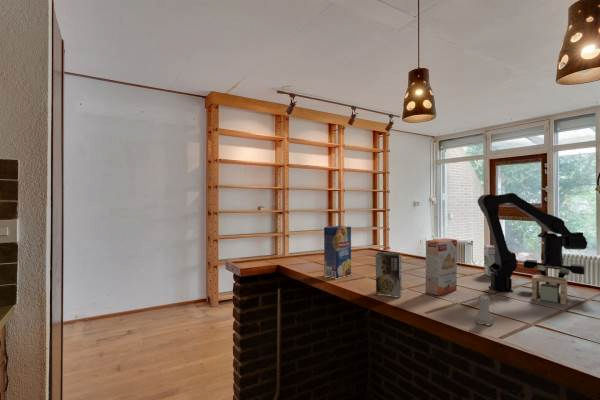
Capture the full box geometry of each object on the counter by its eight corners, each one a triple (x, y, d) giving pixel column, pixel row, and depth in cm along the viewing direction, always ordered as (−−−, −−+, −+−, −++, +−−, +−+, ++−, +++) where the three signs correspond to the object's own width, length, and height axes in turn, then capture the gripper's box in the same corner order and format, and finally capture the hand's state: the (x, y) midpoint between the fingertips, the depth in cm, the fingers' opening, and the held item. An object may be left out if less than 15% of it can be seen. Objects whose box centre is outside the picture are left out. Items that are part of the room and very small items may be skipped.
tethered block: (557, 302, 114) (557, 285, 114) (540, 299, 118) (540, 283, 118) (561, 292, 126) (561, 277, 126) (545, 290, 129) (545, 275, 129)
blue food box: (336, 279, 149) (336, 228, 149) (324, 277, 154) (323, 227, 154) (351, 275, 157) (351, 226, 158) (338, 273, 163) (338, 225, 163)
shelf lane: (565, 304, 112) (564, 281, 112) (532, 299, 118) (532, 277, 118) (567, 298, 118) (566, 277, 118) (535, 293, 125) (535, 273, 125)
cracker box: (439, 296, 122) (438, 241, 122) (424, 293, 127) (424, 240, 127) (458, 290, 130) (457, 239, 130) (443, 287, 135) (443, 237, 135)
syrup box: (501, 277, 152) (501, 246, 152) (488, 276, 153) (487, 246, 153) (496, 274, 157) (496, 245, 158) (483, 274, 159) (483, 244, 159)
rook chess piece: (472, 320, 97) (472, 294, 97) (486, 319, 98) (486, 293, 98) (482, 326, 93) (481, 298, 93) (496, 325, 93) (496, 298, 93)
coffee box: (402, 293, 126) (401, 252, 126) (399, 298, 120) (399, 255, 120) (378, 291, 129) (378, 251, 130) (375, 295, 124) (375, 253, 124)
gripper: (585, 249, 127) (585, 288, 126) (527, 244, 139) (528, 280, 139) (583, 252, 118) (584, 294, 118) (523, 247, 131) (523, 285, 131)
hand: (553, 288), depth 127 cm, fingers closed on tethered block, 3 cm apart
